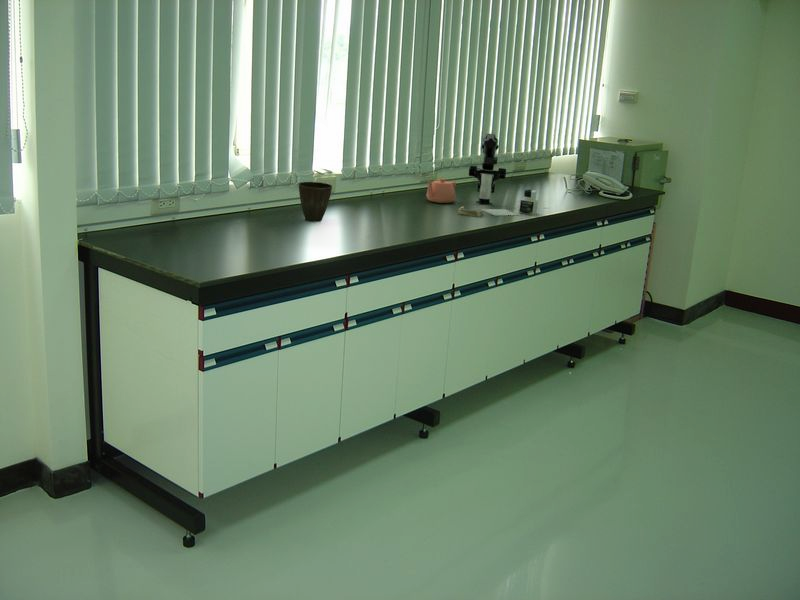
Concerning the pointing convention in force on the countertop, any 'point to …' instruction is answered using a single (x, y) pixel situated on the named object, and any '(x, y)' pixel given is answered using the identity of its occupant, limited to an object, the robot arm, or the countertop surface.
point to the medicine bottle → (529, 203)
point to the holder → (470, 212)
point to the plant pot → (314, 199)
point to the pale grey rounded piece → (485, 186)
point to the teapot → (441, 191)
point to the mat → (500, 212)
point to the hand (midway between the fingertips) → (486, 185)
